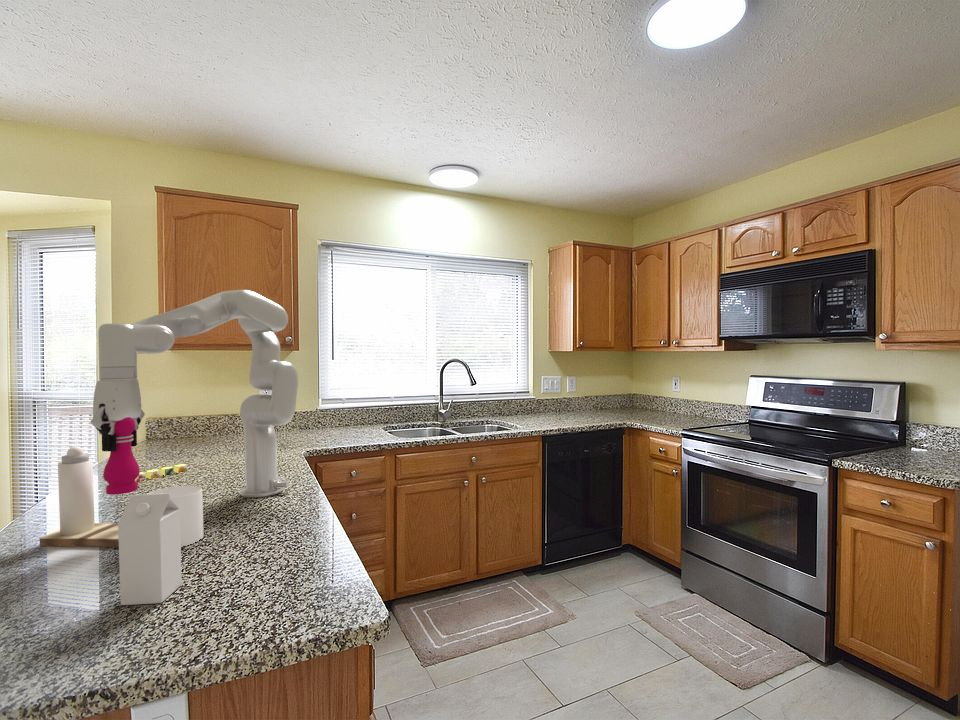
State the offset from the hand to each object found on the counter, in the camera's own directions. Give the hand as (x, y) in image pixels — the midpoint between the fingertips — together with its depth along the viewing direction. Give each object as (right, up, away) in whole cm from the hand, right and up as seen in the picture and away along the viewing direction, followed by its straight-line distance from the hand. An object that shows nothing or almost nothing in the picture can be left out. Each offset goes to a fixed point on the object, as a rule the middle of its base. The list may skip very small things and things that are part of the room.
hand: (119, 447), depth 121 cm
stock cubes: (-29, -23, +60) cm, 70 cm away
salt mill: (-12, -21, +1) cm, 24 cm away
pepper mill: (+1, -11, 0) cm, 11 cm away
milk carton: (+27, -23, -28) cm, 45 cm away
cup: (+14, -23, -1) cm, 27 cm away
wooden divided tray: (-6, -23, +1) cm, 23 cm away
